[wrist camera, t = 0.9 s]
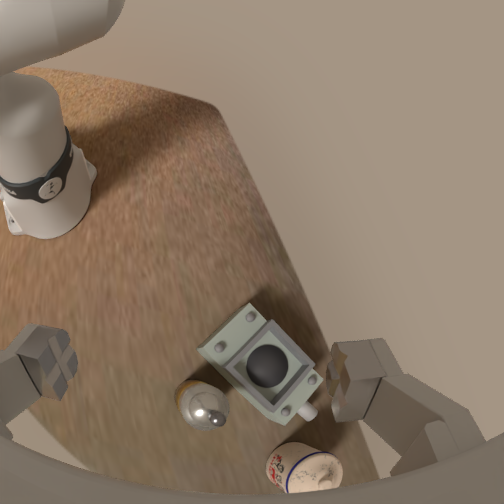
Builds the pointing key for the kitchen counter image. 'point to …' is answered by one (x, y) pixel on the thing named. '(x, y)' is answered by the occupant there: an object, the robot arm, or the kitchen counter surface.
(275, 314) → the kitchen counter surface
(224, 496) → the robot arm
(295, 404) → the block
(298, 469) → the teacup with lid
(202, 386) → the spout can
